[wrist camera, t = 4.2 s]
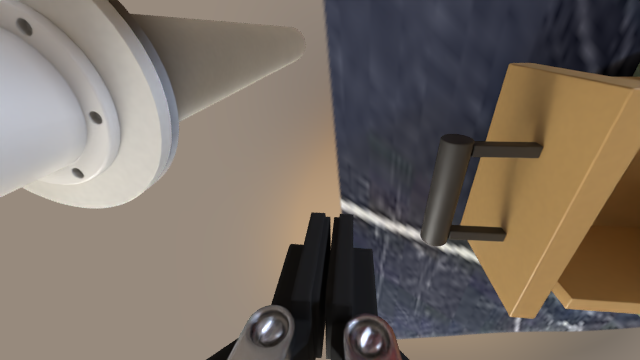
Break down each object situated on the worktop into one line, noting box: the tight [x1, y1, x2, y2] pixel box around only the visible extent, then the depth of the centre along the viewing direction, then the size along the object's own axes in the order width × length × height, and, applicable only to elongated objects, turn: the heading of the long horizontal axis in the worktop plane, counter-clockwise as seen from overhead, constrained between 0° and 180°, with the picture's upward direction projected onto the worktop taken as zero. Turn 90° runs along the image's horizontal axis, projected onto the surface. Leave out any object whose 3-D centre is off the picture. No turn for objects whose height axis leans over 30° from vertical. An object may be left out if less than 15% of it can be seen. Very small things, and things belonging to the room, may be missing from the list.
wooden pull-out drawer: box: [420, 63, 640, 318], centre depth 13 cm, size 18×11×7 cm, turn 91°
